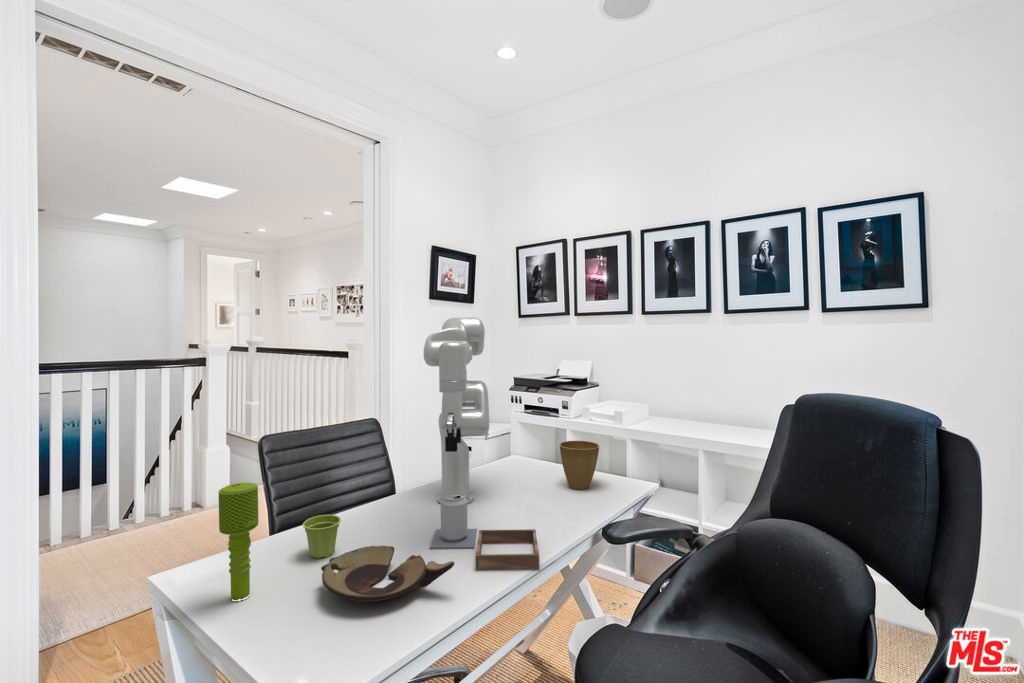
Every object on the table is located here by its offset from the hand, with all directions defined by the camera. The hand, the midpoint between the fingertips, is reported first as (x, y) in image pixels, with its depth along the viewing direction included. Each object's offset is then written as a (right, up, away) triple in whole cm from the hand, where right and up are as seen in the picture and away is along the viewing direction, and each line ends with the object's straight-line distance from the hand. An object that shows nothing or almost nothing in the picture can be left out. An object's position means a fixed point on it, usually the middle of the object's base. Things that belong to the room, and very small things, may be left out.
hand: (453, 446), depth 137 cm
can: (0, -26, +1) cm, 26 cm away
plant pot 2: (+42, -25, +46) cm, 67 cm away
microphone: (-44, -27, -29) cm, 59 cm away
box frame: (+15, -26, -9) cm, 32 cm away
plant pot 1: (-34, -27, -8) cm, 44 cm away
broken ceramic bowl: (-13, -27, -27) cm, 40 cm away
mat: (0, -26, 0) cm, 26 cm away
